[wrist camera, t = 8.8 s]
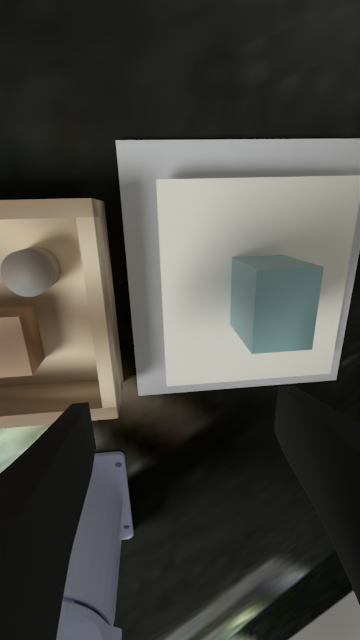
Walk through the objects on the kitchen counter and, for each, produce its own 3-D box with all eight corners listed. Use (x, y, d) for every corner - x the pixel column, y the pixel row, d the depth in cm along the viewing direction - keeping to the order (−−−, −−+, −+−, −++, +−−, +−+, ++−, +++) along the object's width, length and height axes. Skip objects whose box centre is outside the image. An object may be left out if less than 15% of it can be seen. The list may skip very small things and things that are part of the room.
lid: (314, 359, 21) (373, 411, 16) (165, 370, 20) (171, 429, 15) (340, 179, 17) (432, 162, 12) (155, 183, 16) (158, 167, 11)
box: (123, 381, 21) (117, 418, 17) (-39, 394, 20) (-82, 435, 16) (104, 201, 17) (91, 197, 13) (-101, 206, 16) (-178, 204, 12)
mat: (332, 377, 23) (336, 379, 22) (138, 392, 21) (138, 395, 21) (374, 139, 17) (379, 138, 17) (116, 141, 16) (115, 140, 15)
